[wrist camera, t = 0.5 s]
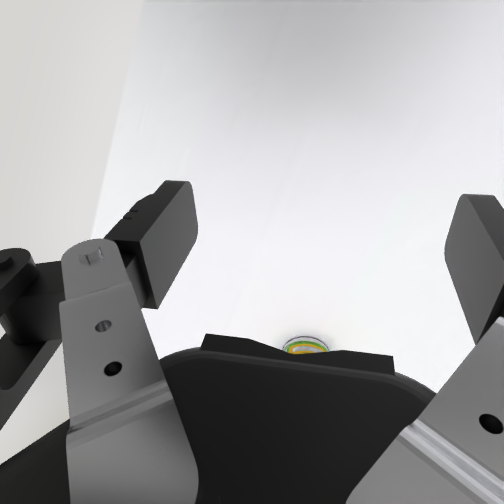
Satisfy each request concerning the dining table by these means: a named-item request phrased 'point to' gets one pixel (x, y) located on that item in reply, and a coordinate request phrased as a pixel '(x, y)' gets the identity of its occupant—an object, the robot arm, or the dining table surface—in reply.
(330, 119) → the dining table surface
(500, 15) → the dining table surface
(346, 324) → the dining table surface
